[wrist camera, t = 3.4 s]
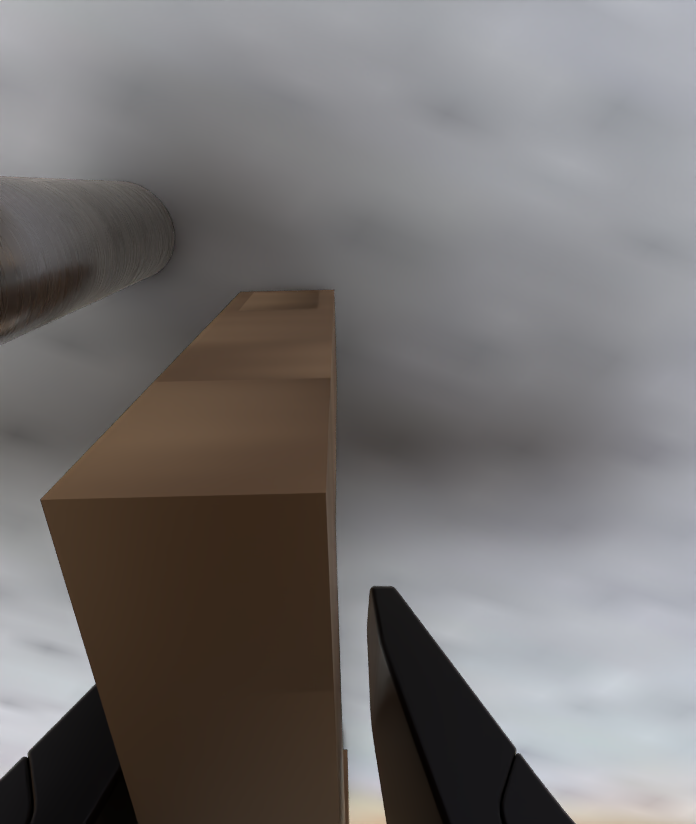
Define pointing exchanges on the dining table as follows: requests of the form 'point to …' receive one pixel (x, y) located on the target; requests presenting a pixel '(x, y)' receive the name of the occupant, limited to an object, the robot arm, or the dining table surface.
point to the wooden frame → (218, 573)
